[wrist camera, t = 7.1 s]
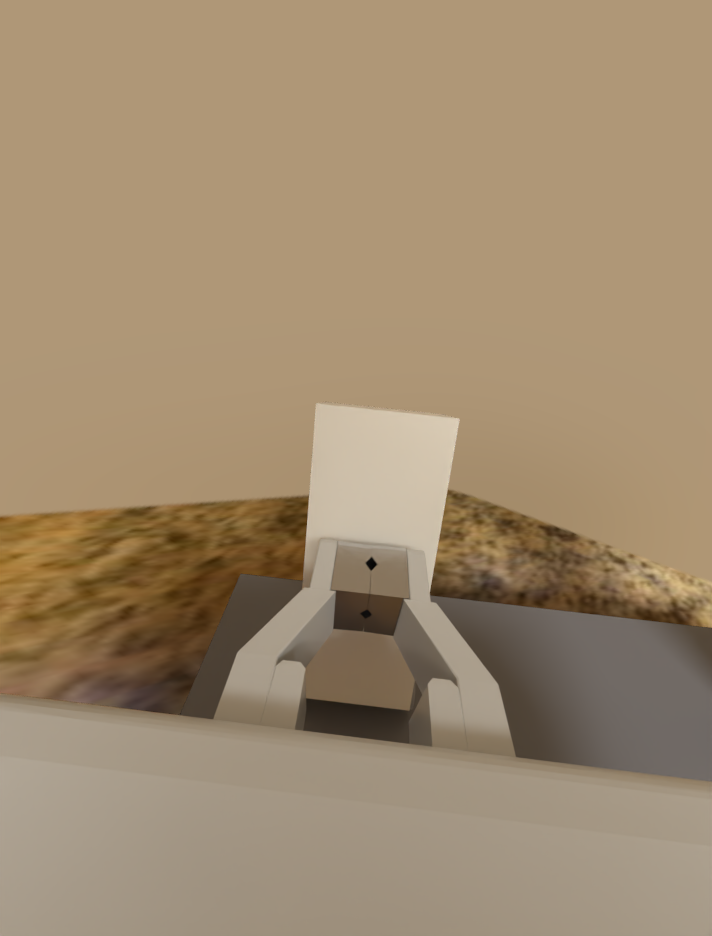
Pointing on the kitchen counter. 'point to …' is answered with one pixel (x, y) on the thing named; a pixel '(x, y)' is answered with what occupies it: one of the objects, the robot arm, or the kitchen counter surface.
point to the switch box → (528, 682)
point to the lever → (374, 528)
